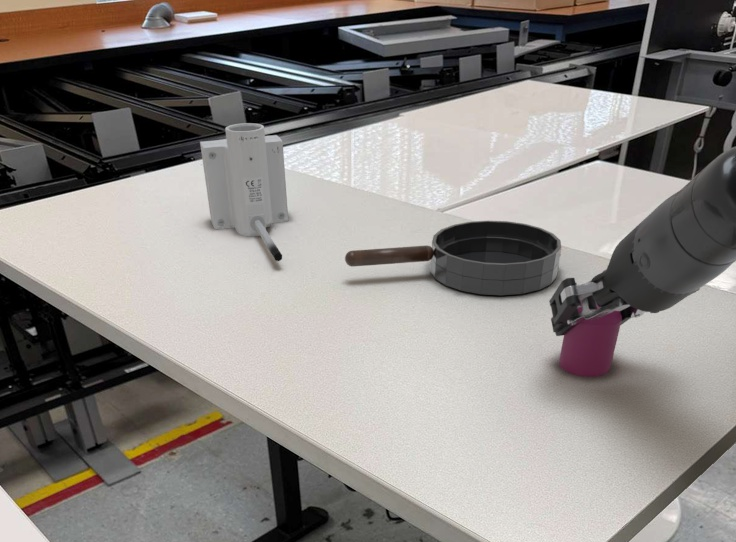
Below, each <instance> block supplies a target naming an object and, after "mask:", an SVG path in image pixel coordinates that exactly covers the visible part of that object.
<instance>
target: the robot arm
mask: <svg viewBox="0 0 736 542" xmlns="http://www.w3.org/2000/svg"><path fill="white" fill-rule="evenodd" d="M608 262H609V263H608V265H607V268H606V269H604V270H603V271H602V272H600V273H598V274H596V275H595V276H593V277H592V278H591V280H589V281H588V282H586V283H582V284H577V282H576V279H575V278H576V277H567V278H565V279H563V280H562V281H561V282H560V283H559V285H558V286H557V288H556V290H555V291H554V293H553V294H552V296H551V298H550V299H549V300H548V301H549V306H550V309H551V314H552V316H551V318H550V322H551V328H552V331H553V333H555V336H556V337H561V336H564V335H565V334H566V333H567V332H569V331H570V330H571V329H572V328H574V327H575V326H576V325H577V324H578V323H580V322H582V321H584V320H586V319H588V320H597V319H599V318H601V317H603V316H605V315H607V314H609V313H611V312H613V311H620V313H621V316H622V321H621V325H620V326H622V325H623V324H625V323H626V322H628V321H629V320H631V319H632V318H640V317H641V316H642V315H644V314H645V313H650V314H658V313H660V312H664V311H666V310H668V309H671V308H673V307H674V306H675V305H677V304H678V303H680V302H682V301H683V300H685V299H686V298H687V297H689V296H691V295H692V294H695V293H697V292H698V291H700V289H701V288H702V287H704V286H705V285H707V284H708V283H710V282H712V281H713V280H714V279H716V278H718V277H719V276H720V275H722V274H723V273H724V272H725V271H726V270H727V269H729V268H730V267H731V266H732V265H733V264H734V263H735V262H736V146H733V147H731V148H729V149H727V150H726V151H723V152H722V153H720V154H719V155H718V156H716V157H715V158H714V159H713V160H712V161H711V162H709V163H708V164H707V165H706V166H704V168H703V169H702V170H700V172H698V173H697V174H696V175H695V176H694V177H693V178H692V179H691V180H690V181H689V182H687V183H686V184H685V185H684V186H683V187H682V188H680V190H678V191H677V192H675V193H673V194H672V195H671V196H669V197H667V198H666V199H665V200H664V201H662V202H661V203H660V204H659V205H658V206H657V207H656V208H654V209H653V210H652V211H651V212H650V213H649V214H648V215H647V216H646V217H645V218H644V219H643V220H642V221H640V222H639V223H638V224H637V225H636V226H635V227H634V228H632V230H631V231H630V232H628V234H627V235H625V236H624V237H623V238H622V239H621V240H620V241H619V242H618V244H617V245H616V246H615V248H614V250H613V252H612V254H611V257H610V260H609V261H608ZM581 303H582V308H583V310H582V312H581V313H579V312H578V308H581ZM596 303H597V305H598V306H599V307H600V308H599V309H597V306H596Z"/></svg>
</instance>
